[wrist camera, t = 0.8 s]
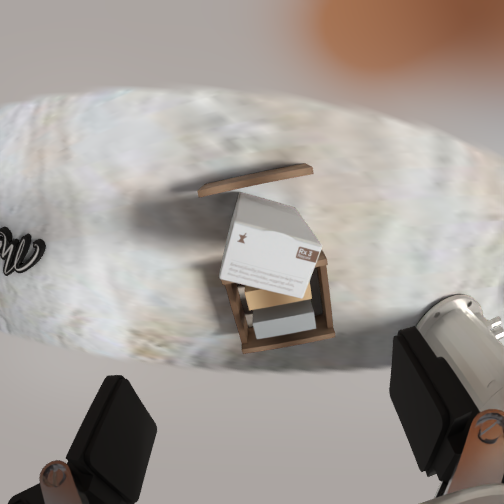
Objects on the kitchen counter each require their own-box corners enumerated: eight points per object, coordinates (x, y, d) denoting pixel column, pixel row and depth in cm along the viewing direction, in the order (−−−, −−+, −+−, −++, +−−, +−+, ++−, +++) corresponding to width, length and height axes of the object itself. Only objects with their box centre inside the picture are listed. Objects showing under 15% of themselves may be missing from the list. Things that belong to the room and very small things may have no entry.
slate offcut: (306, 288, 34) (313, 311, 29) (309, 303, 34) (316, 328, 30) (253, 298, 34) (252, 323, 30) (257, 313, 35) (256, 339, 30)
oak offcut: (302, 259, 33) (309, 279, 28) (304, 276, 33) (312, 298, 29) (246, 270, 33) (244, 292, 28) (250, 286, 34) (249, 310, 29)
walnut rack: (305, 163, 29) (312, 167, 25) (328, 317, 35) (335, 337, 31) (204, 184, 30) (197, 191, 26) (244, 332, 36) (243, 353, 32)
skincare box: (228, 230, 32) (212, 283, 20) (240, 188, 30) (229, 219, 19) (286, 246, 32) (301, 306, 21) (300, 205, 31) (324, 245, 19)
